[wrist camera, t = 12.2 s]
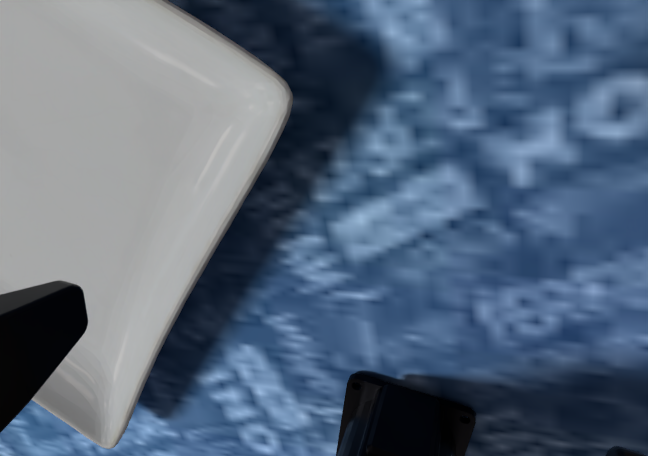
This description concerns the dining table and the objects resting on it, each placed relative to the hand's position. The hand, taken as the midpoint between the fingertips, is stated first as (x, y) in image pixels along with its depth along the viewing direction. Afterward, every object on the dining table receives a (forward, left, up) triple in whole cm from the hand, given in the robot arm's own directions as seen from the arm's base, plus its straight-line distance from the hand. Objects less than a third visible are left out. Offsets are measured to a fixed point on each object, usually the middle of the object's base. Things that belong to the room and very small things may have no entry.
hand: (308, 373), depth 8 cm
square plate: (-4, +22, -14) cm, 26 cm away
